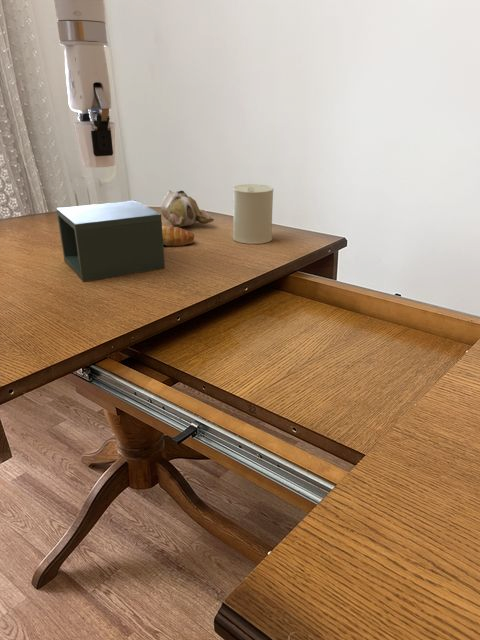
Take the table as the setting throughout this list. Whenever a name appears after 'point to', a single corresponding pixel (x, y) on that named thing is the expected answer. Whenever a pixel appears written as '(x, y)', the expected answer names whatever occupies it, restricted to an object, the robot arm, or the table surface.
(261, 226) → the can
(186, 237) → the pastry
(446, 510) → the table surface
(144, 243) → the box
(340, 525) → the table surface
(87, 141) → the white cup
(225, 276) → the table surface
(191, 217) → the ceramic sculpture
